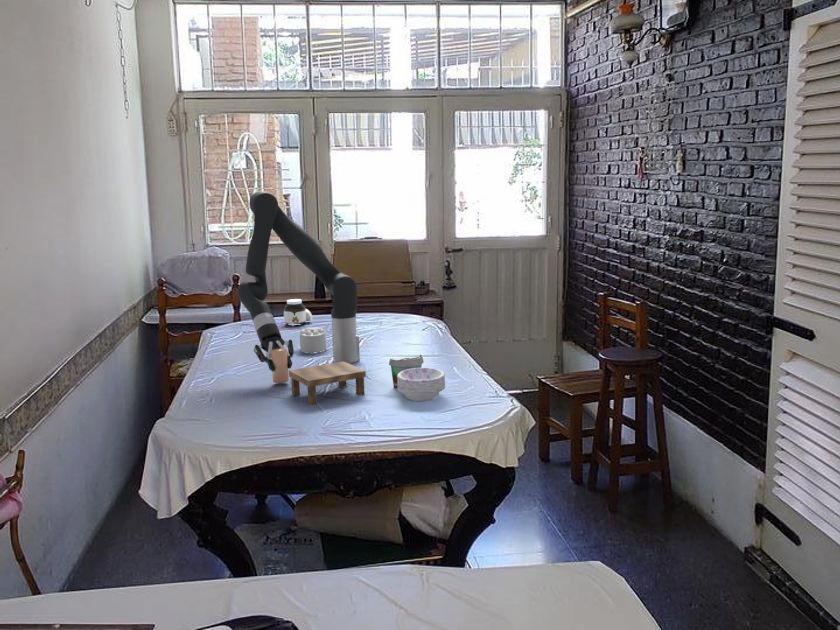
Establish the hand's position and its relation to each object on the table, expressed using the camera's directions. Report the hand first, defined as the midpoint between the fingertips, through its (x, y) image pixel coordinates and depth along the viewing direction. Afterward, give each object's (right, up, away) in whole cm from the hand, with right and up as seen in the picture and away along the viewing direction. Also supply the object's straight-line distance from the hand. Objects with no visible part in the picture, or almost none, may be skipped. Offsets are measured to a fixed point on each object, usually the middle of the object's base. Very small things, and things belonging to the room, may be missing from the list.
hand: (281, 368), depth 276 cm
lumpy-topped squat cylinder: (+4, +4, +53) cm, 53 cm away
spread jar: (-10, +14, +107) cm, 108 cm away
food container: (+44, -6, -5) cm, 44 cm away
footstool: (+17, -8, -11) cm, 22 cm away
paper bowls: (+48, -8, -17) cm, 51 cm away
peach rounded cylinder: (-1, -4, +2) cm, 5 cm away
